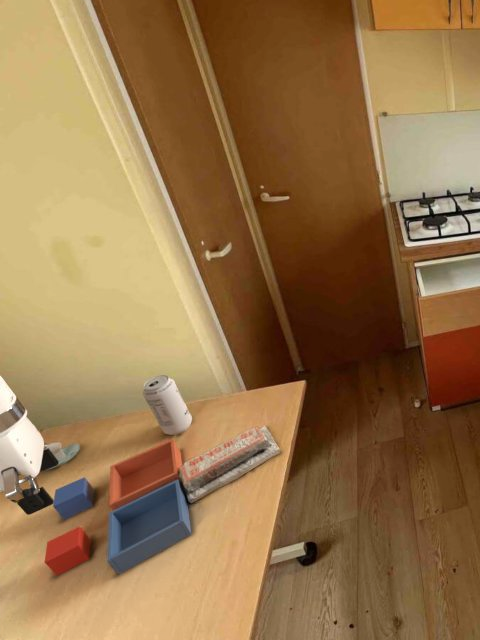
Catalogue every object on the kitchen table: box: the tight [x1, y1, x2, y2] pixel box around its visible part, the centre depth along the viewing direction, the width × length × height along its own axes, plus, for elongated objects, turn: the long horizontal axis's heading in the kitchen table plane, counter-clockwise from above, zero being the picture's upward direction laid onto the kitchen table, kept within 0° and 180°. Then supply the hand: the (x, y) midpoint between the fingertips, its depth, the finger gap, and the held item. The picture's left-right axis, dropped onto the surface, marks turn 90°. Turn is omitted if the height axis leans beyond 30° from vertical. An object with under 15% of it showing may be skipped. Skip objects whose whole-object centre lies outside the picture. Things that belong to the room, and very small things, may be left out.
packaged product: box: [179, 425, 280, 504], centre depth 96 cm, size 18×5×10 cm
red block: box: [44, 525, 92, 576], centre depth 78 cm, size 4×4×4 cm
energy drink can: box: [142, 374, 193, 436], centre depth 103 cm, size 6×6×15 cm
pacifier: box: [44, 442, 80, 471], centre depth 96 cm, size 7×6×6 cm
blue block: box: [52, 476, 95, 520], centre depth 87 cm, size 4×4×4 cm
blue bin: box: [106, 479, 192, 575], centre depth 83 cm, size 11×11×4 cm
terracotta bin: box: [108, 438, 184, 511], centre depth 92 cm, size 11×11×4 cm
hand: (44, 487), depth 75 cm, fingers open, 9 cm apart
